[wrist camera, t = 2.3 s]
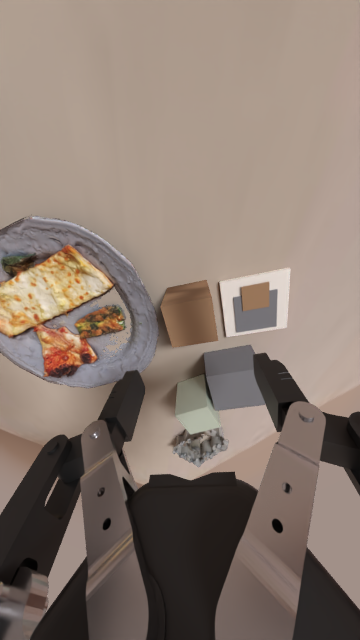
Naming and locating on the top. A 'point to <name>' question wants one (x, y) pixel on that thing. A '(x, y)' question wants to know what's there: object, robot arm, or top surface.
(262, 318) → the tile
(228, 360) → the charcoal block
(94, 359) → the food plate
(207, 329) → the walnut block
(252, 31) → the top surface
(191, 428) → the sage block
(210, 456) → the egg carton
